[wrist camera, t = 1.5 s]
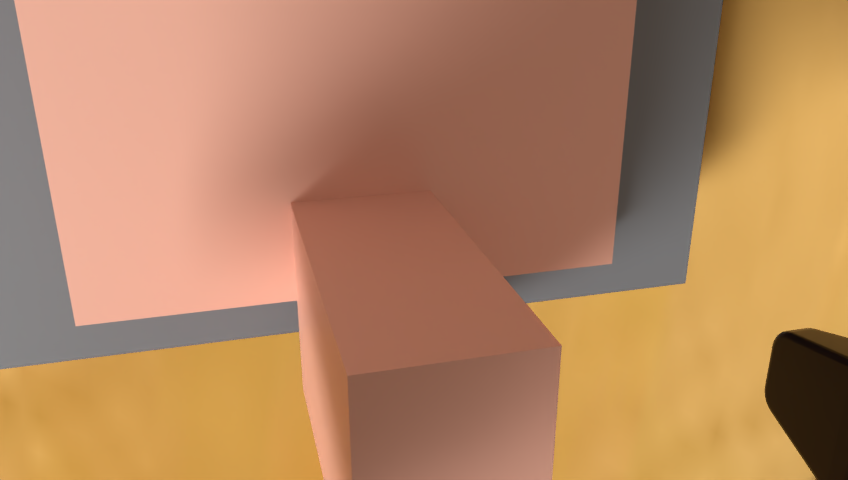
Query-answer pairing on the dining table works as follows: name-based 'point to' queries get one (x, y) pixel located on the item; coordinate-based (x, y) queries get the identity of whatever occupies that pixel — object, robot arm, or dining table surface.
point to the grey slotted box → (63, 341)
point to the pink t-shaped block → (346, 195)
